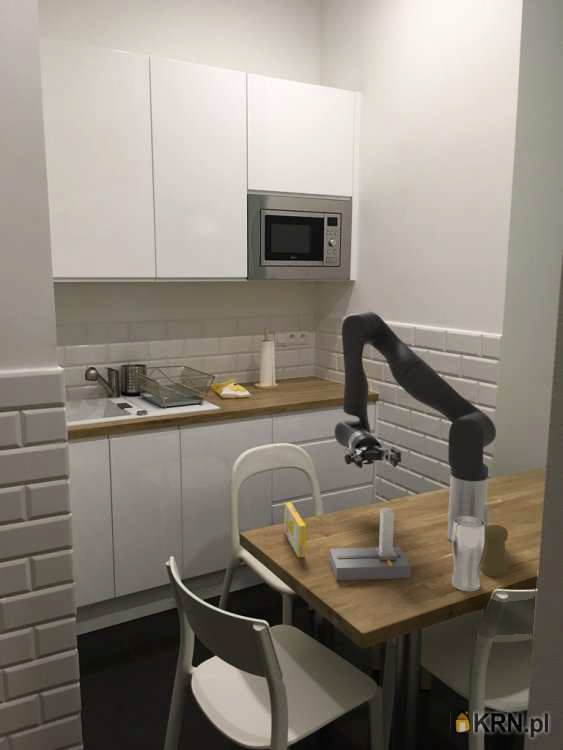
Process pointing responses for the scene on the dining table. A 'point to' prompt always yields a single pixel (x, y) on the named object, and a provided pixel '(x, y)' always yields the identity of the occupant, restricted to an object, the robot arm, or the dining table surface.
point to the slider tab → (386, 535)
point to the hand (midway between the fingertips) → (378, 463)
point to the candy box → (295, 530)
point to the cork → (494, 552)
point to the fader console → (367, 564)
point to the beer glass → (467, 552)
